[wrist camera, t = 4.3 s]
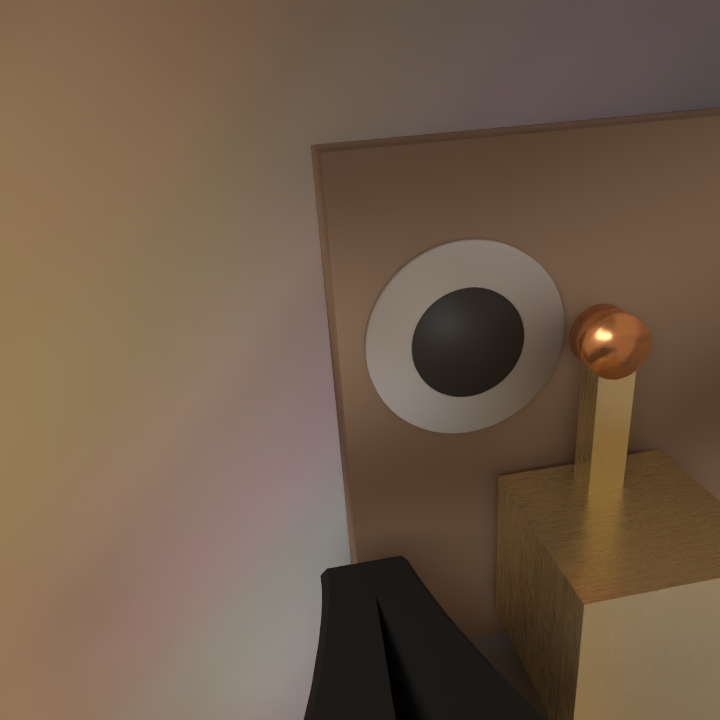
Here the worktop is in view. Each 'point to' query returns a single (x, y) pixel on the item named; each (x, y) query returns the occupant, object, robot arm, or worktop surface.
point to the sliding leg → (612, 557)
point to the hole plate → (509, 325)
